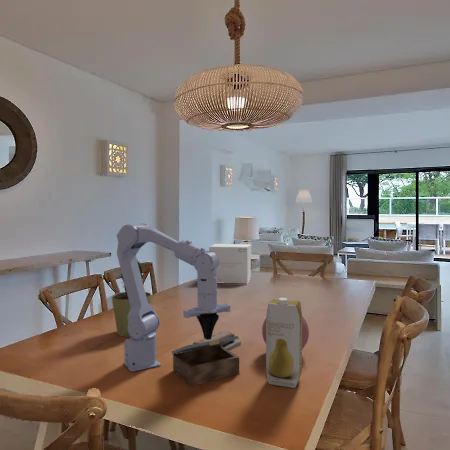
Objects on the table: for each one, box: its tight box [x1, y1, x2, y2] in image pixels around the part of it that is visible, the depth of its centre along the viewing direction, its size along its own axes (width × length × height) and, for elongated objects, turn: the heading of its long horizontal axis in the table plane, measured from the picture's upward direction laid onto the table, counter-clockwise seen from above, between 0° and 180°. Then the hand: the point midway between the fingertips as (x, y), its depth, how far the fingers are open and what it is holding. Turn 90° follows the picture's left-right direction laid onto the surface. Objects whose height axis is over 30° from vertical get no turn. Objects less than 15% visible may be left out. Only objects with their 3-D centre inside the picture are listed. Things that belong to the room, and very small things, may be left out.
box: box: [172, 345, 240, 387], centre depth 118 cm, size 16×12×5 cm
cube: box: [208, 243, 252, 285], centre depth 266 cm, size 25×21×24 cm
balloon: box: [261, 315, 310, 350], centre depth 130 cm, size 15×20×15 cm
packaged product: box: [191, 331, 242, 351], centre depth 138 cm, size 18×5×10 cm
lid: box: [171, 335, 240, 355], centre depth 118 cm, size 17×13×1 cm
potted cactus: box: [111, 260, 152, 338], centre depth 156 cm, size 15×15×30 cm
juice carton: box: [265, 297, 303, 389], centre depth 111 cm, size 9×8×24 cm
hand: (207, 338), depth 117 cm, fingers closed
